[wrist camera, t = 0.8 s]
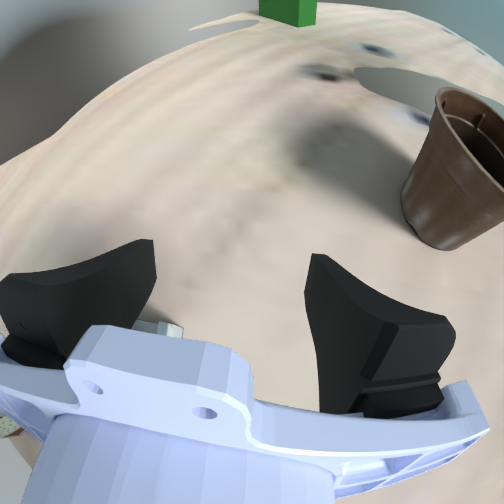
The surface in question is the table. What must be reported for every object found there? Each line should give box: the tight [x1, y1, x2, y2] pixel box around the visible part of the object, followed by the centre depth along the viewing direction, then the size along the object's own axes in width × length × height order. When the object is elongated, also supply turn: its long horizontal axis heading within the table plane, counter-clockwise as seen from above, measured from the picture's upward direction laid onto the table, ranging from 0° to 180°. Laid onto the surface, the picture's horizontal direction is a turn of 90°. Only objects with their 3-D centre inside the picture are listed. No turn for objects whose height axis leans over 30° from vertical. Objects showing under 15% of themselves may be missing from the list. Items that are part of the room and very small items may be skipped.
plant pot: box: [401, 87, 504, 251], centre depth 24 cm, size 16×16×16 cm
